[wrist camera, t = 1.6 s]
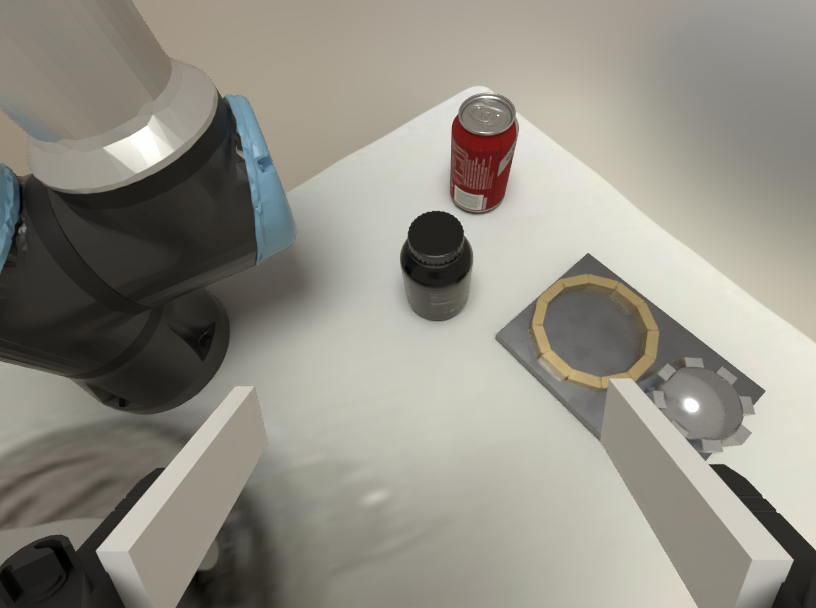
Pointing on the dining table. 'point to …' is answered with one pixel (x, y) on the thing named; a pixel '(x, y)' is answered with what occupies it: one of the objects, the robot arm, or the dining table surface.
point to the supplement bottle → (436, 265)
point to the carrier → (628, 357)
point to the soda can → (482, 151)
